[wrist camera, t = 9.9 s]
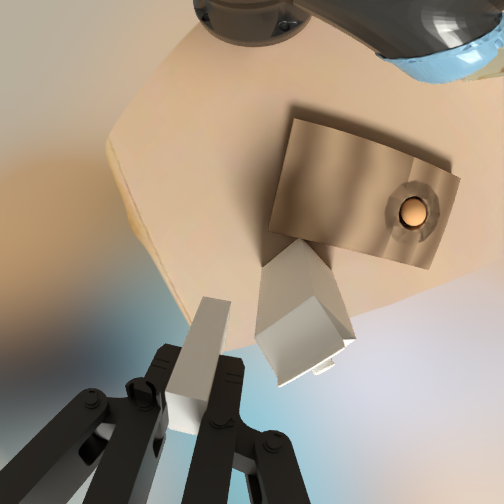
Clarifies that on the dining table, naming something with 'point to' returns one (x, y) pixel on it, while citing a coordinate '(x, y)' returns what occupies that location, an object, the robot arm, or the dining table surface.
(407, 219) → the ball
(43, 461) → the robot arm
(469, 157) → the dining table surface
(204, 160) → the dining table surface
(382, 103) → the dining table surface
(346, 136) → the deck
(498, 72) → the skincare box
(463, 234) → the dining table surface
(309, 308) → the milk carton
